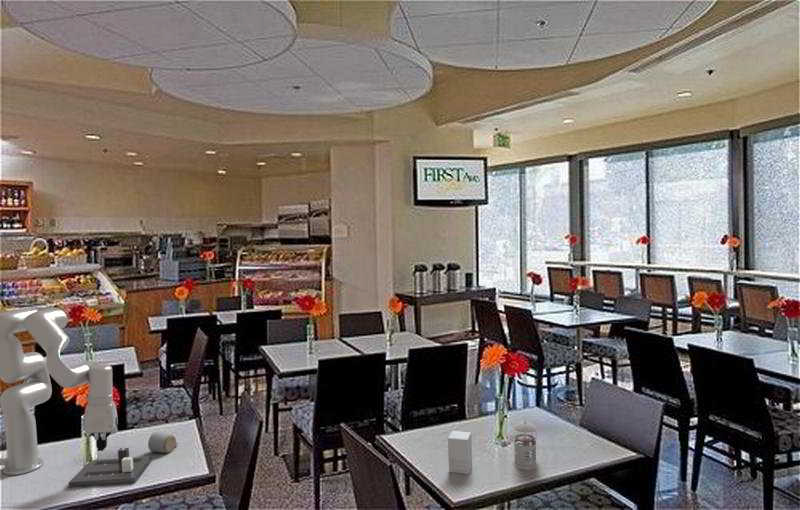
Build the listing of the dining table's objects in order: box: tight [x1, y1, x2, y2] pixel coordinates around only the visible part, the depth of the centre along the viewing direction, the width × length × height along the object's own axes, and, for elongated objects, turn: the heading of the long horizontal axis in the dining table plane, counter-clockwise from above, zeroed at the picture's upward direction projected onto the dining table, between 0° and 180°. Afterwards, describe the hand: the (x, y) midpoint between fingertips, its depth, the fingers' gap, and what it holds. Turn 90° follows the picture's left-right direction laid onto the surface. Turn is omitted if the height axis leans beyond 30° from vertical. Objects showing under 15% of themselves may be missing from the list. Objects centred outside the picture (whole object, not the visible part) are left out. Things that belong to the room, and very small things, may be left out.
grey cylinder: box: [147, 431, 179, 454], centre depth 225 cm, size 11×8×8 cm
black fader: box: [117, 447, 130, 462], centre depth 211 cm, size 3×2×5 cm
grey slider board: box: [68, 455, 153, 489], centre depth 205 cm, size 22×18×2 cm
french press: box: [511, 396, 540, 471], centre depth 206 cm, size 10×12×25 cm
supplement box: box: [447, 430, 473, 475], centre depth 202 cm, size 7×7×13 cm
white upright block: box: [122, 456, 133, 472], centre depth 203 cm, size 3×2×5 cm
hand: (101, 449), depth 202 cm, fingers closed
